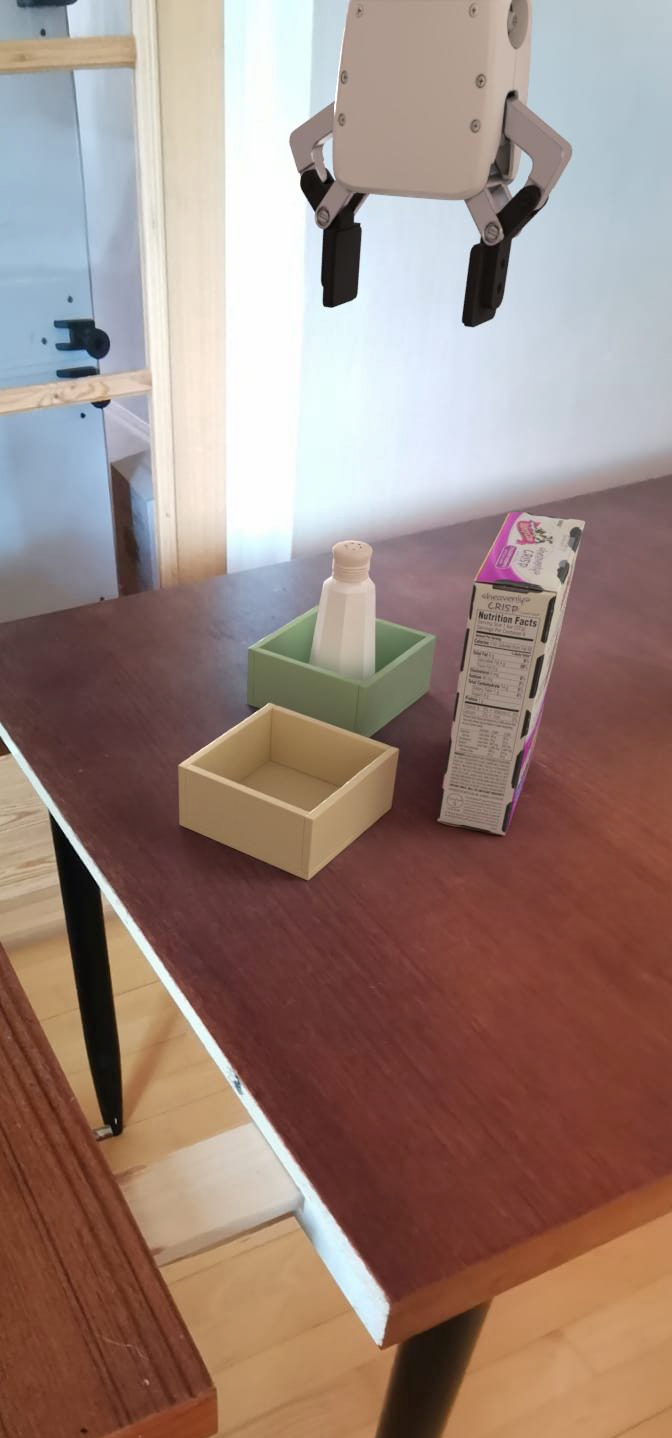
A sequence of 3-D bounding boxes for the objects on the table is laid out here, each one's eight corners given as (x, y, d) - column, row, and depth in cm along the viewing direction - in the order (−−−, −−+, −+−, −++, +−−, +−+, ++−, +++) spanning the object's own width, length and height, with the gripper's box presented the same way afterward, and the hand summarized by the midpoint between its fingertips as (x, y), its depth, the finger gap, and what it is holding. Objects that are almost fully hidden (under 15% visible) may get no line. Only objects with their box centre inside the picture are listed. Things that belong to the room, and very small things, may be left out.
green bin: (428, 691, 85) (437, 635, 82) (360, 745, 79) (366, 687, 76) (318, 655, 90) (322, 601, 86) (246, 704, 84) (247, 648, 81)
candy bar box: (464, 743, 79) (507, 508, 68) (534, 756, 78) (590, 518, 67) (429, 824, 72) (471, 575, 61) (505, 840, 71) (563, 588, 59)
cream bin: (391, 808, 73) (399, 748, 70) (308, 881, 68) (312, 819, 64) (267, 760, 78) (269, 702, 75) (179, 825, 72) (177, 765, 69)
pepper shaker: (333, 716, 81) (347, 567, 74) (290, 687, 85) (298, 542, 77) (389, 696, 83) (408, 550, 76) (344, 669, 87) (358, 526, 79)
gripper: (639, -91, 53) (564, 317, 65) (338, -77, 61) (320, 286, 73) (576, -92, 49) (509, 344, 61) (261, -77, 57) (256, 308, 69)
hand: (406, 312), depth 67 cm, fingers open, 9 cm apart
